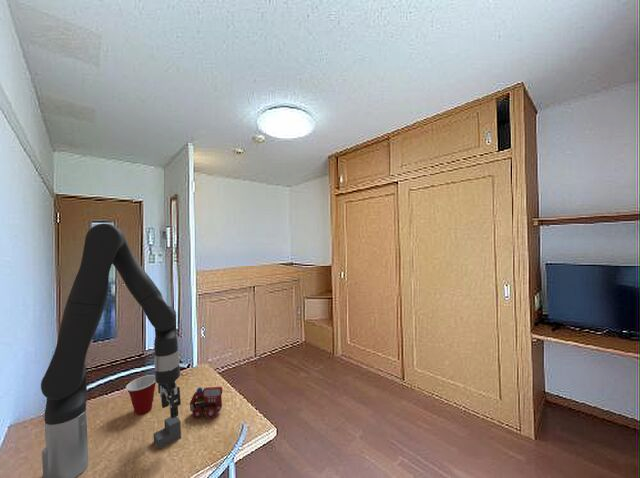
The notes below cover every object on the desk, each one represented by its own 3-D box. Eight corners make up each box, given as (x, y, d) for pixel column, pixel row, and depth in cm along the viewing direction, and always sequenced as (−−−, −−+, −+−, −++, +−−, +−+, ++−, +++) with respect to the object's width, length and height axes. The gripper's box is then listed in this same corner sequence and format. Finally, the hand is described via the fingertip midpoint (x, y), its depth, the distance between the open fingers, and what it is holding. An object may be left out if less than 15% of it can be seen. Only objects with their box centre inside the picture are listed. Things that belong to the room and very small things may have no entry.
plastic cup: (125, 409, 115) (124, 380, 115) (156, 399, 121) (155, 372, 121) (127, 423, 106) (126, 391, 106) (160, 412, 113) (159, 382, 113)
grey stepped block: (158, 449, 93) (158, 431, 93) (153, 442, 96) (153, 424, 96) (180, 437, 98) (180, 420, 98) (175, 431, 102) (174, 414, 101)
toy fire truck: (195, 408, 115) (194, 382, 115) (225, 407, 115) (224, 382, 115) (187, 419, 108) (186, 392, 108) (219, 418, 108) (218, 391, 108)
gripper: (148, 363, 100) (151, 408, 100) (162, 376, 90) (165, 426, 90) (171, 355, 105) (173, 399, 105) (186, 367, 95) (189, 414, 96)
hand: (169, 411), depth 98 cm, fingers open, 8 cm apart
